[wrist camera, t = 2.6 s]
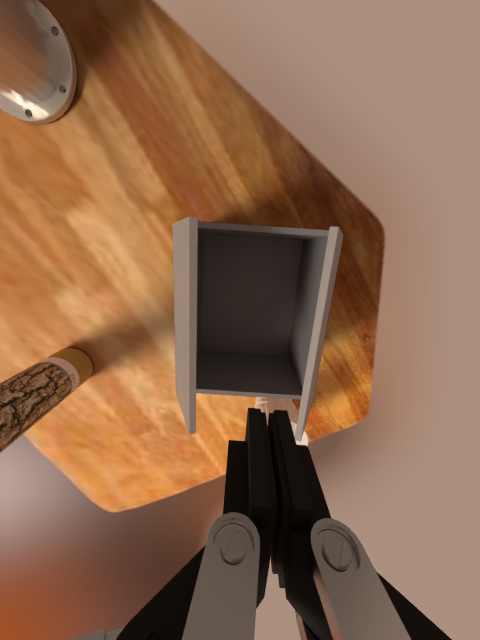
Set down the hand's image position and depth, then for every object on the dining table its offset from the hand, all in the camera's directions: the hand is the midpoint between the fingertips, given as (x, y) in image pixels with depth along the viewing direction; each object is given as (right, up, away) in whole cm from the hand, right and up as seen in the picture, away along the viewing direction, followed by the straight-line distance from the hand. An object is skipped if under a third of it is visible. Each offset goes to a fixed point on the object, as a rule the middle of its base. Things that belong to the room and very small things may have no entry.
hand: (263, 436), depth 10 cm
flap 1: (-6, +4, +13) cm, 15 cm away
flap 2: (+6, +4, +13) cm, 15 cm away
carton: (0, +9, +28) cm, 29 cm away
